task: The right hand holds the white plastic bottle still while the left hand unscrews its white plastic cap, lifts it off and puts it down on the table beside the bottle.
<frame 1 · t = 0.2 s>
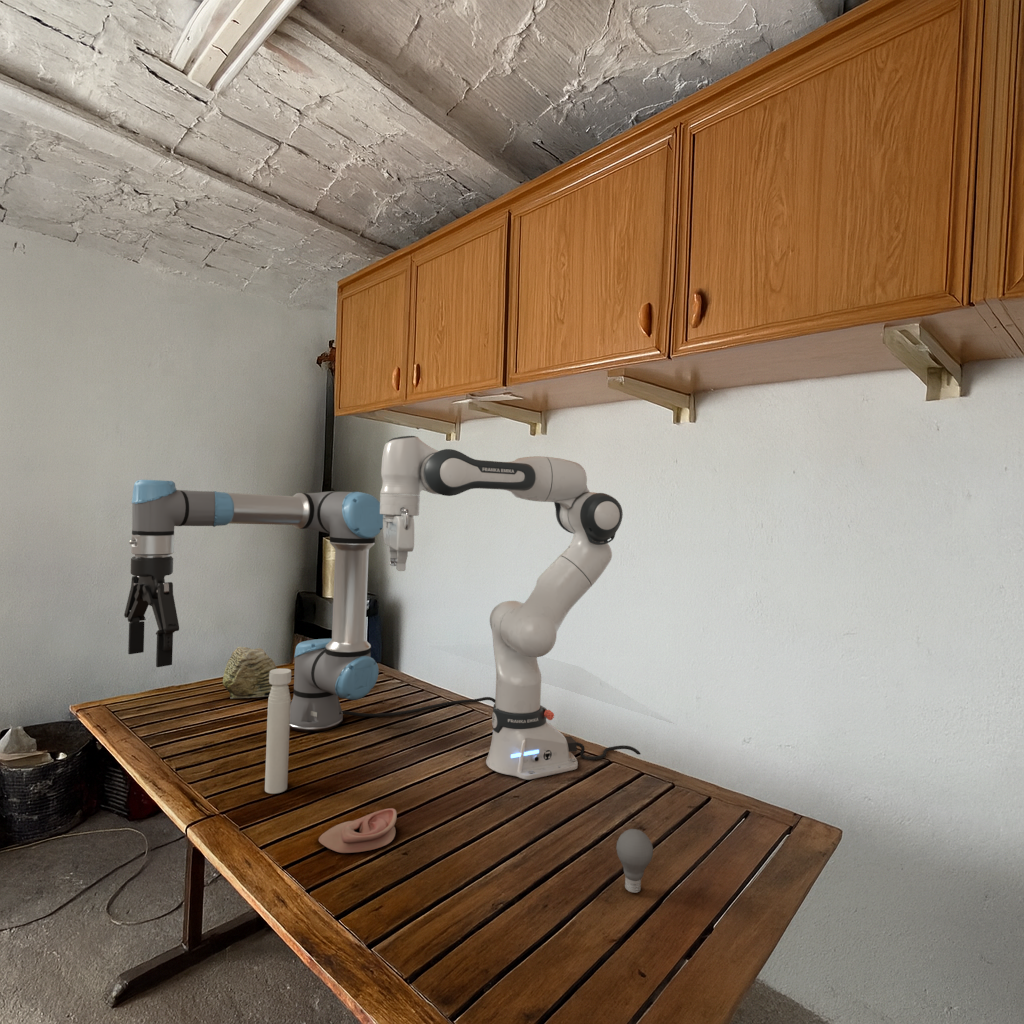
left hand: (149, 659, 129), 29 cm above the table, tool pointing down, fingers open, 13 cm apart
right hand: (397, 568, 144), 48 cm above the table, tool pointing down, fingers open, 8 cm apart
light bulb: (632, 891, 106), on the table
bottle: (276, 788, 136), on the table
fossil: (254, 694, 198), on the table
cap: (280, 672, 136), point 25 cm above the table, screwed on, not yet turned
anatomical model: (358, 838, 118), on the table
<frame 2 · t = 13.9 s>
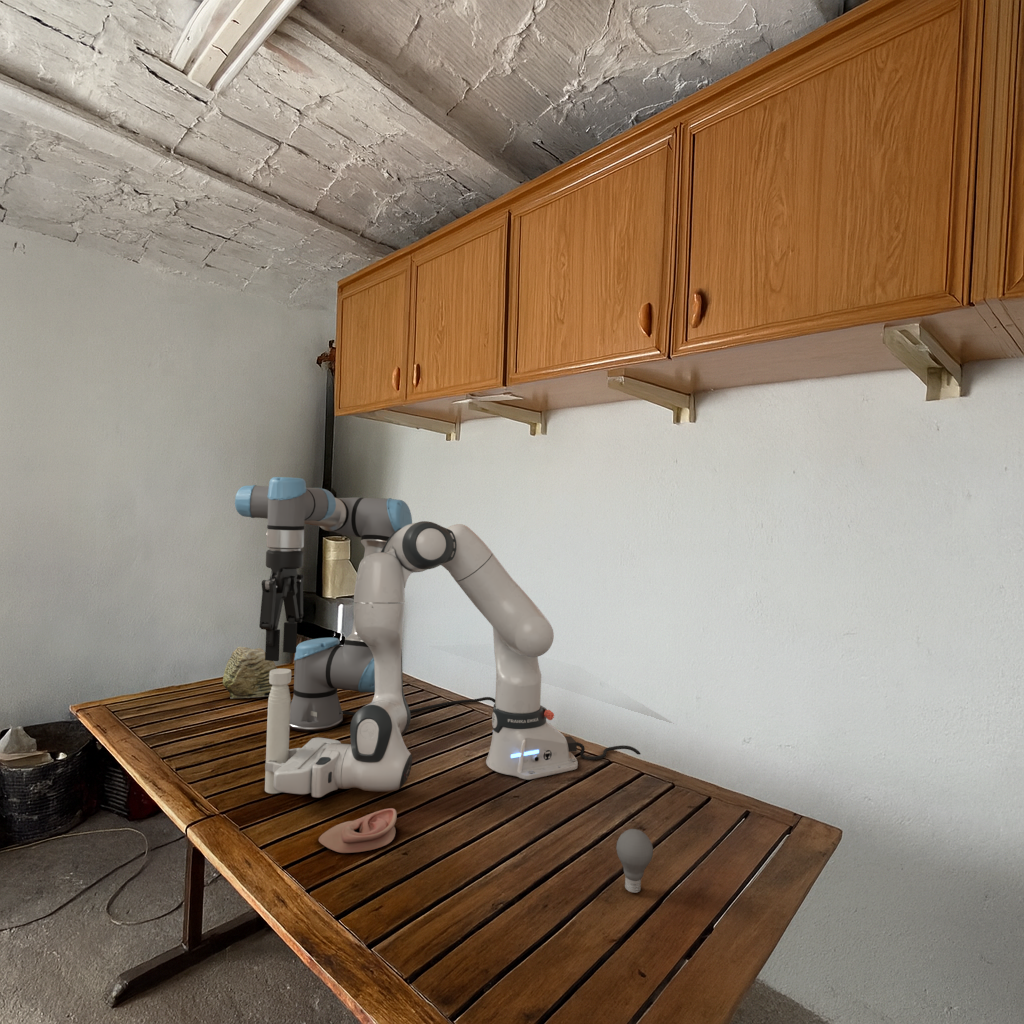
left hand: (281, 656, 136), 29 cm above the table, tool pointing down, fingers open, 7 cm apart
right hand: (273, 759, 136), 6 cm above the table, tool horizontal, fingers closed on bottle, 4 cm apart
bottle: (276, 788, 137), on the table, touching right hand
everything else where it was.
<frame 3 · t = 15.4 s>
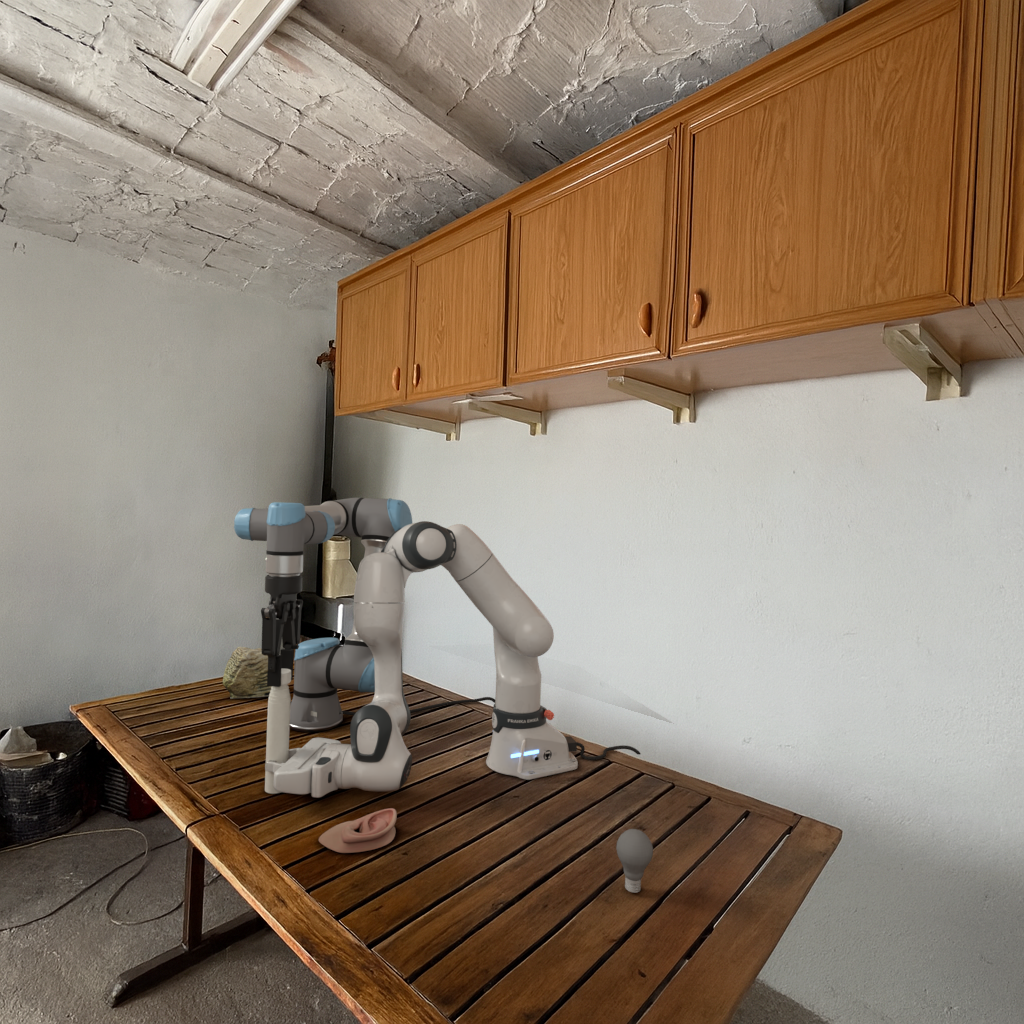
left hand: (280, 682, 136), 23 cm above the table, tool pointing down, fingers closed on cap, 4 cm apart
right hand: (273, 759, 136), 6 cm above the table, tool horizontal, fingers closed on bottle, 4 cm apart
bottle: (276, 788, 137), on the table, touching right hand
cap: (280, 672, 136), point 25 cm above the table, screwed on, not yet turned, touching left hand
everything else where it was.
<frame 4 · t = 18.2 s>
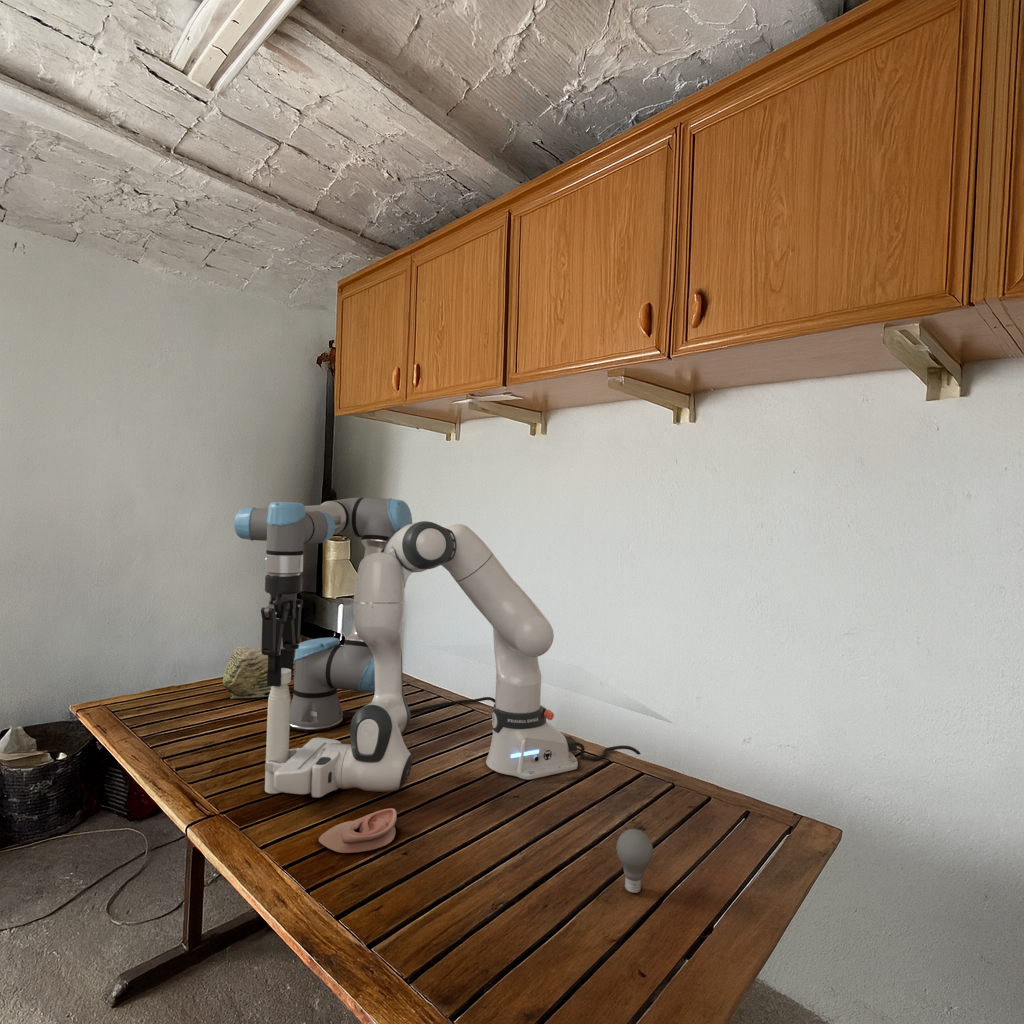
left hand: (280, 682, 136), 23 cm above the table, tool pointing down, fingers closed on cap, 4 cm apart
right hand: (273, 759, 136), 6 cm above the table, tool horizontal, fingers closed on bottle, 4 cm apart
bottle: (276, 788, 137), on the table, touching right hand
cap: (280, 672, 136), point 25 cm above the table, turned 83° so far, risen 0.1 cm, still on its thread, touching left hand
everything else where it was.
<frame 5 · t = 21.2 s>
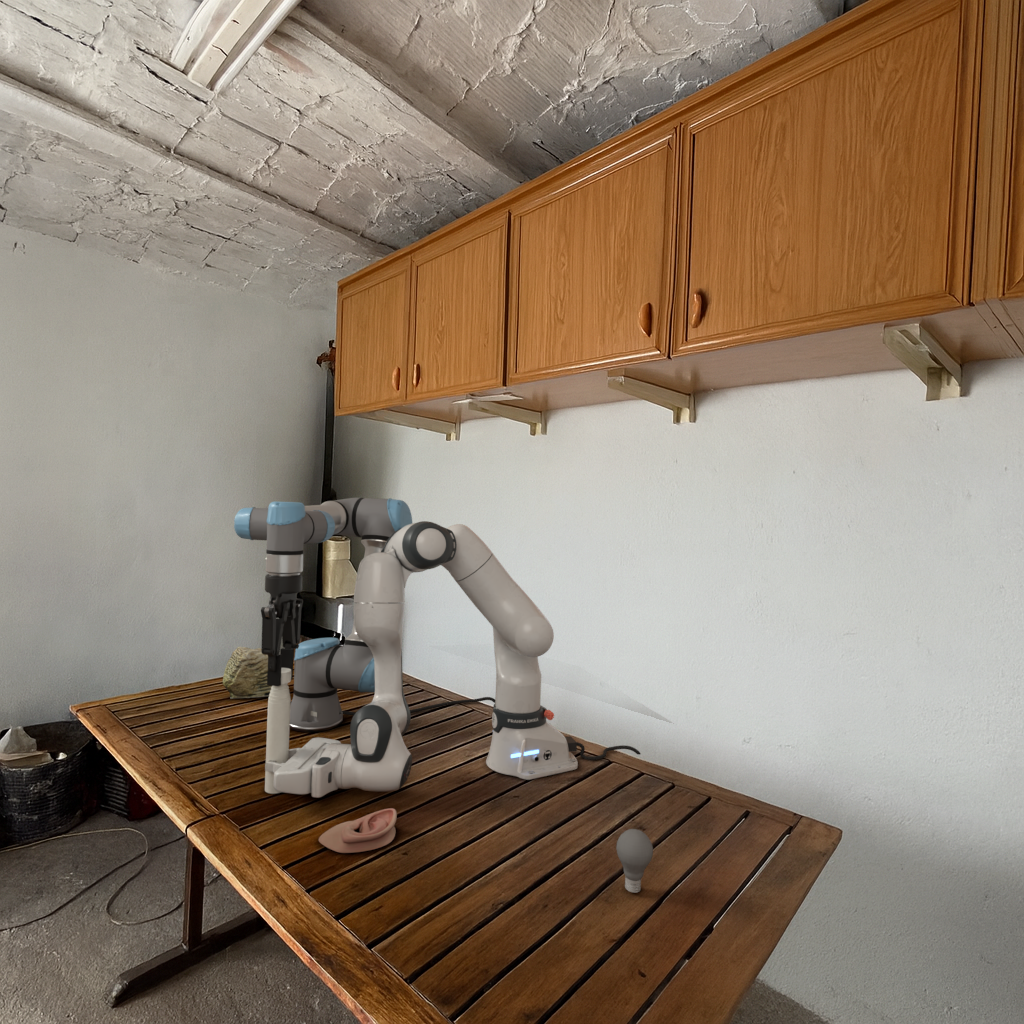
left hand: (280, 681, 136), 23 cm above the table, tool pointing down, fingers closed on cap, 4 cm apart
right hand: (273, 759, 136), 6 cm above the table, tool horizontal, fingers closed on bottle, 4 cm apart
bottle: (276, 788, 137), on the table, touching right hand
cap: (280, 671, 136), point 25 cm above the table, turned 166° so far, risen 0.1 cm, still on its thread, touching left hand
everything else where it was.
when the left hand's fingers open (1 cm above the table, at t = 35.2 s): cap stays where it is, point 2 cm above the table.
when the right hand's fingers open (6 cm above the table, at t = 36.5 s): bottle stays where it is, on the table.
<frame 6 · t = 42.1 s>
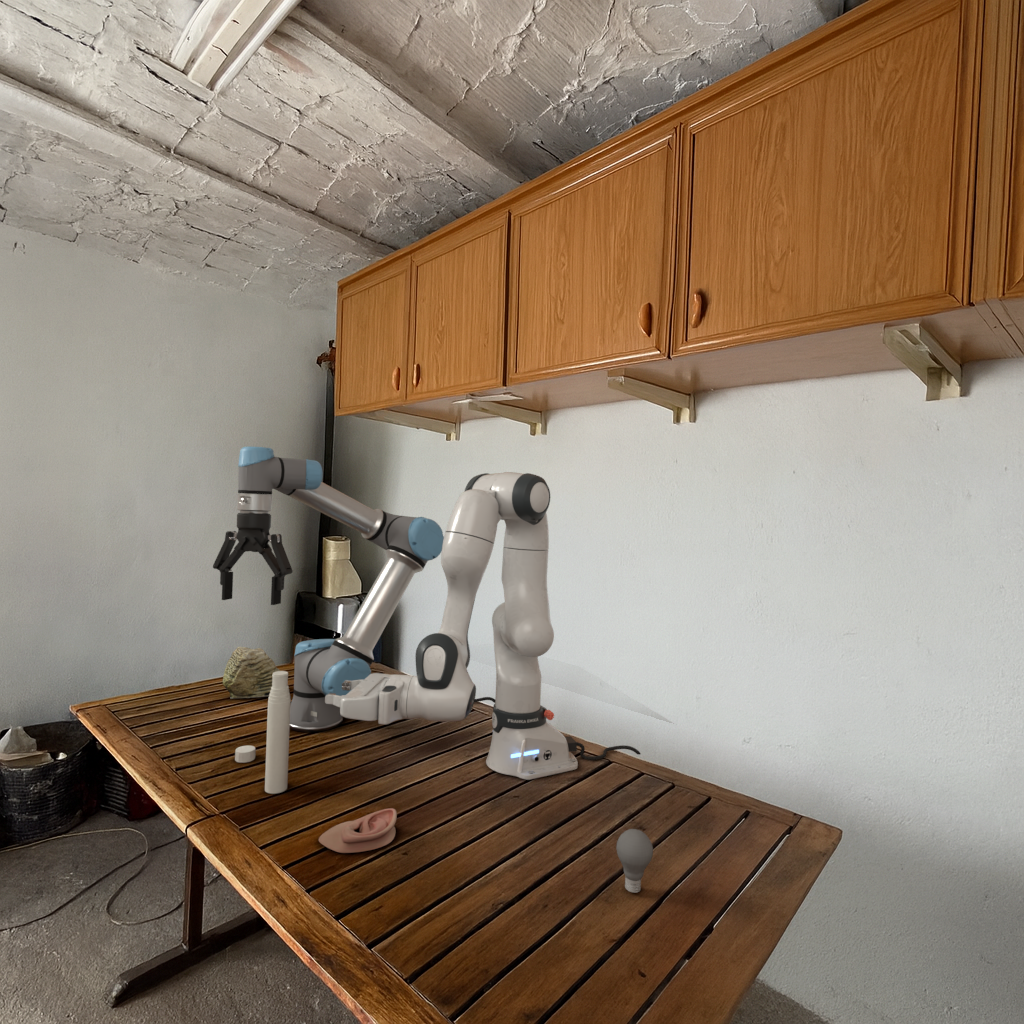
left hand: (251, 601, 150), 38 cm above the table, tool pointing down, fingers open, 13 cm apart
right hand: (334, 691, 135), 22 cm above the table, tool horizontal, fingers open, 8 cm apart
bottle: (276, 788, 137), on the table
cap: (245, 750, 151), point 2 cm above the table, off its thread
everything else where it was.
at the end: cap came off its thread; cap point 2.1 cm above the table; the left hand is holding nothing; the right hand is holding nothing; bottle tilted 0°; bottle moved 0.0 cm from its start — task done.
